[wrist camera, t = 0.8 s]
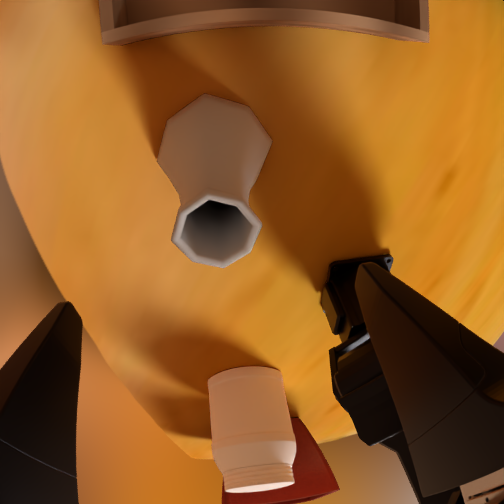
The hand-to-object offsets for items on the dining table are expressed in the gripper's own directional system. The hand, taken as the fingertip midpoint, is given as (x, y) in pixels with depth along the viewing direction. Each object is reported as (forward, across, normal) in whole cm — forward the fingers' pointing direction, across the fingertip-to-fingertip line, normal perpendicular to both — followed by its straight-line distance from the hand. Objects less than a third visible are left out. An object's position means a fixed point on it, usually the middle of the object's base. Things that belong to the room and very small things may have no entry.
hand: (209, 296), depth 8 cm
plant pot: (+13, -1, +54) cm, 56 cm away
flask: (+13, 0, 0) cm, 13 cm away
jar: (+13, 0, +32) cm, 35 cm away
